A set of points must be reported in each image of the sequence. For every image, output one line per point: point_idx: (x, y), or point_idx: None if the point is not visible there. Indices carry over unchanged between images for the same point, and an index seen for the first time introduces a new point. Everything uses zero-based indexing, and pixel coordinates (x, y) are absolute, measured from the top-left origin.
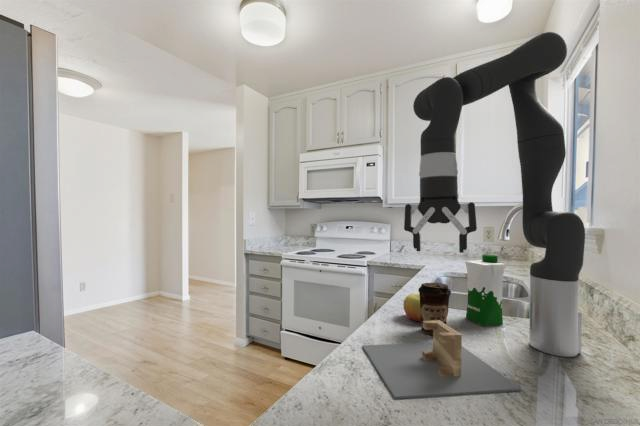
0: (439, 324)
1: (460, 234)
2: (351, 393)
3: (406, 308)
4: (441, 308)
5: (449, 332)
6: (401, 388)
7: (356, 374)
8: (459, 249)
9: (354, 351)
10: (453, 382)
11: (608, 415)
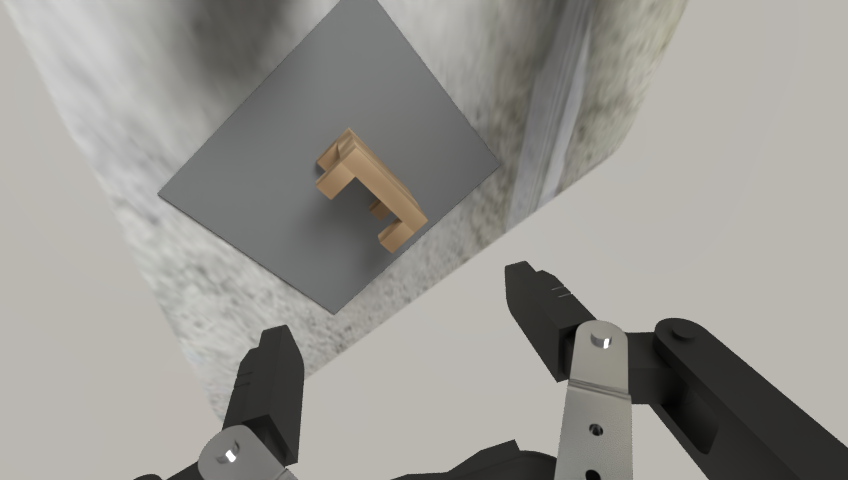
0: (366, 185)
1: (565, 373)
2: None
3: None
4: None
5: (401, 225)
6: (333, 291)
7: (241, 298)
8: (511, 291)
9: (162, 225)
10: None
11: (596, 156)
